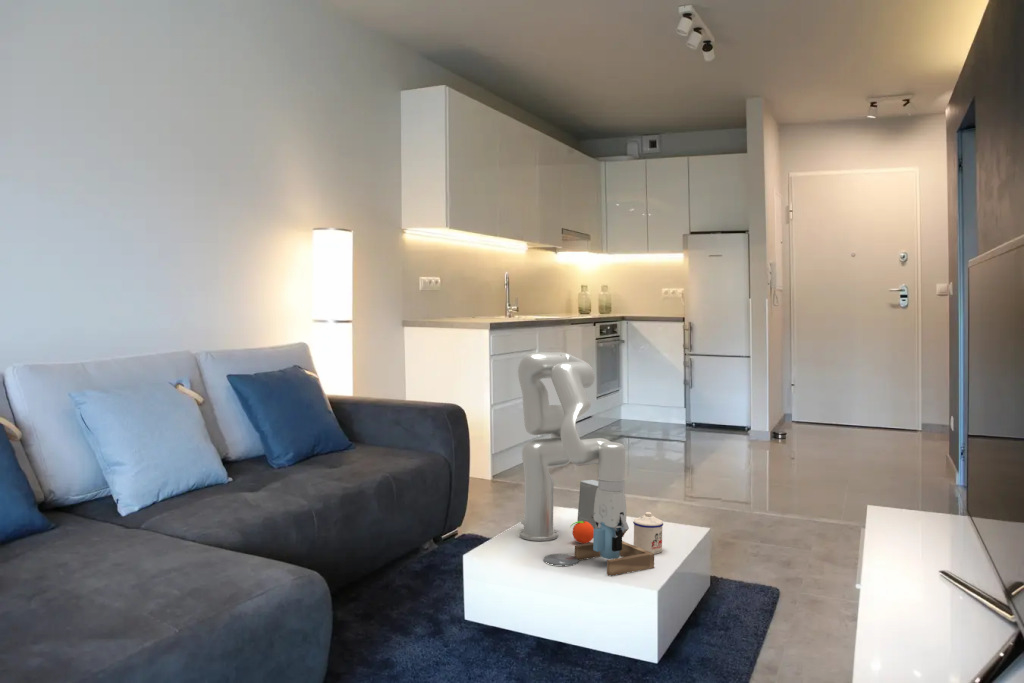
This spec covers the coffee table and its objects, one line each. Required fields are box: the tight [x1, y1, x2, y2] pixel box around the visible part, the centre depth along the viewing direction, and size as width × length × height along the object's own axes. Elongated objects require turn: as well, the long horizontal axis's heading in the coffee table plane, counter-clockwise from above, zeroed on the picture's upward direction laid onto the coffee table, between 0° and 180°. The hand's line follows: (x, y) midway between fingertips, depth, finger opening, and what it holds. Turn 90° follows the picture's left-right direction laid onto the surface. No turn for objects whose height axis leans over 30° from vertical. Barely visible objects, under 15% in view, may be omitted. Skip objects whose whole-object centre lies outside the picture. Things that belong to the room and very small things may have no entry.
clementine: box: [569, 521, 594, 544], centre depth 237 cm, size 8×7×7 cm
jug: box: [592, 522, 621, 560], centre depth 216 cm, size 8×6×10 cm
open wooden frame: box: [574, 540, 655, 576], centre depth 217 cm, size 17×16×4 cm
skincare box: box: [576, 479, 598, 529], centre depth 255 cm, size 8×7×16 cm
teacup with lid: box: [632, 511, 664, 555], centre depth 232 cm, size 12×9×12 cm
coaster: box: [543, 553, 579, 567], centre depth 219 cm, size 10×10×1 cm
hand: (610, 547), depth 217 cm, fingers closed on jug, 5 cm apart
